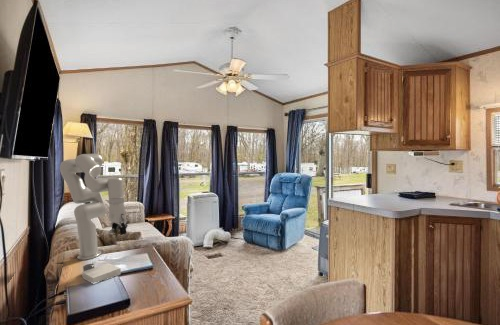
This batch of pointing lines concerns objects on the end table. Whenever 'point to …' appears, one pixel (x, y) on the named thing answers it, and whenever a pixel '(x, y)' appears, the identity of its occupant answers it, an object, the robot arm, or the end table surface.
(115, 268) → the white slab
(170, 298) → the end table surface
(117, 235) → the eagle figurine
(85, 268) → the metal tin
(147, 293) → the end table surface
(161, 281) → the end table surface
